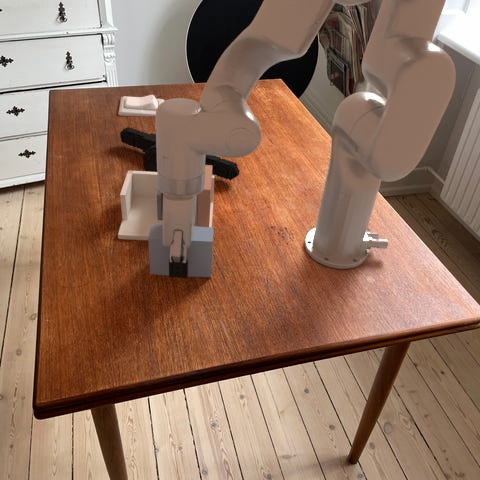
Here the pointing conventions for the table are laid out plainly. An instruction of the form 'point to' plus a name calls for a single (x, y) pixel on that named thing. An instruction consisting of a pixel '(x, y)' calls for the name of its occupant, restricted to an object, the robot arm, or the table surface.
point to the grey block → (196, 253)
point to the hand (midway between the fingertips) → (180, 258)
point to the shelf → (156, 204)
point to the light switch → (139, 106)
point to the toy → (150, 156)
